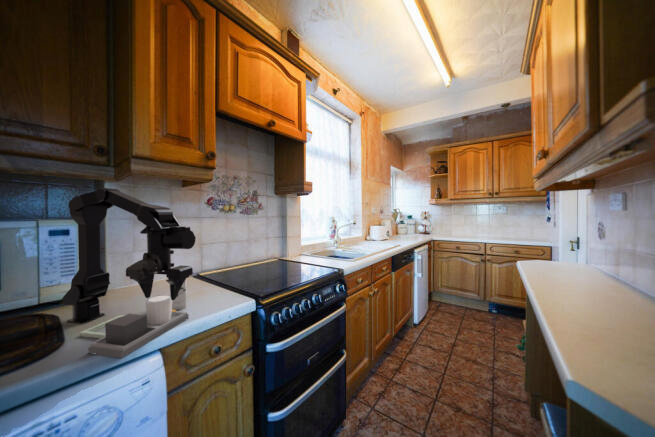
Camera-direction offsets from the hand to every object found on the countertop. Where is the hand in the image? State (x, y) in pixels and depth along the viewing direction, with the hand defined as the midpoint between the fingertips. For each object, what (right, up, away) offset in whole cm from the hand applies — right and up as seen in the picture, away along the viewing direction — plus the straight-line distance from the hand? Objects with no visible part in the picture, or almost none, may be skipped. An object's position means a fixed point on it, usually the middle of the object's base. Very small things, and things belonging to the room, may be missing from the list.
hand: (160, 298), depth 72 cm
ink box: (-4, -8, +15) cm, 18 cm away
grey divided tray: (-1, -9, -5) cm, 10 cm away
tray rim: (-12, -8, -1) cm, 15 cm away
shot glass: (0, -7, 0) cm, 7 cm away
